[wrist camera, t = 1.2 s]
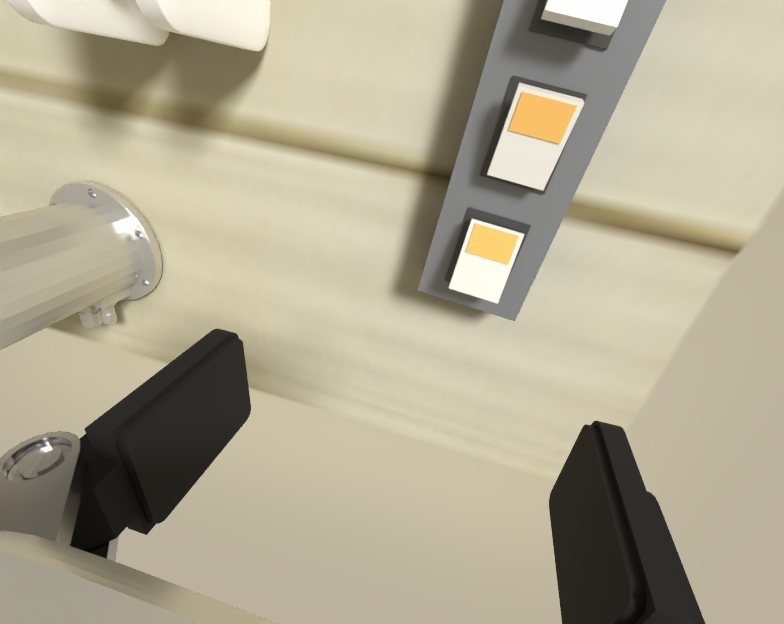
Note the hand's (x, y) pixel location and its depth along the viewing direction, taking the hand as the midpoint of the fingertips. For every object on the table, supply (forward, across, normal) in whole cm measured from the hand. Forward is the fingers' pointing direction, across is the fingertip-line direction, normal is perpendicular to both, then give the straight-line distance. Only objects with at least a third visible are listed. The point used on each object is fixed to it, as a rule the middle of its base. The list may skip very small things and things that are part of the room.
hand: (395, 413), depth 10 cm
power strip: (+24, -4, -10) cm, 26 cm away
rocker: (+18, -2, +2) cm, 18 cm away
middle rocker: (+18, -3, -6) cm, 20 cm away
